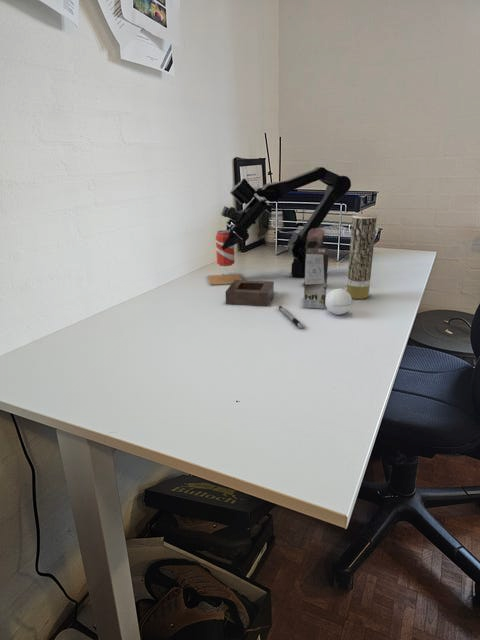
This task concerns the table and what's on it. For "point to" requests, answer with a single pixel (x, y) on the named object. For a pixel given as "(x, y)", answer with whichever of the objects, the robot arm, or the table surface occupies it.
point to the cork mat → (224, 279)
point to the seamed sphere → (338, 301)
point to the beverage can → (227, 254)
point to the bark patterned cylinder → (361, 255)
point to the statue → (315, 239)
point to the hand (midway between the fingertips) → (221, 247)
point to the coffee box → (315, 277)
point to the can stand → (250, 292)
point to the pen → (291, 317)
